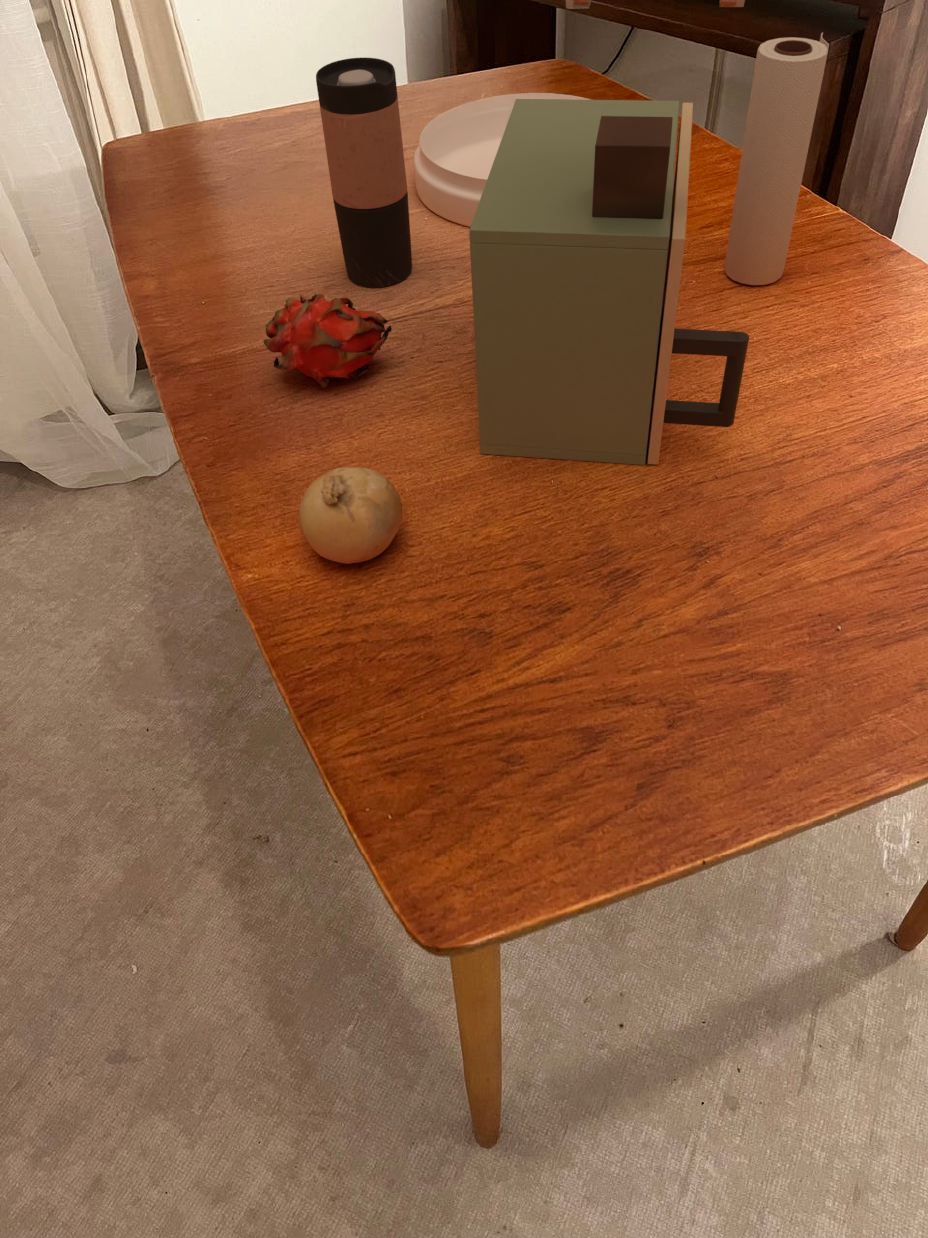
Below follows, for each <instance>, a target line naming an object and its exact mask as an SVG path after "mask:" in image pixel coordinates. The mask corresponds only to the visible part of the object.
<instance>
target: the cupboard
mask: <svg viewBox="0 0 928 1238" xmlns="http://www.w3.org/2000/svg"><path fill="white" fill-rule="evenodd" d="M680 102H681V101H679V100H649V99H648V100H642V99H641V100H639V99H636V100H635V99H592V100H569V99H516V101H515V103H514V106H513V109H512V112H511V115H510V117H509V120H508V123H507V126H506V129H505V131H504V134H503V137H502V140H501V143H500V145H499V148H498V151H497V154H496V157H495V159H494V162H493V165H492V168H491V171H490V173H489V176H488V179H487V182H486V185H485V187H484V190H483V193H482V196H481V199H480V201H479V204H478V207H477V210H476V213H475V215H474V218H473V221H472V224H471V227H469V230H468V234H469V235H468V237H469V254H470V255H469V256H470V257H469V258H470V275H471V294H472V312H473V313H472V314H473V333H474V334H473V337H474V353H475V370H476V371H475V373H476V374H475V375H476V393H477V394H476V395H477V396H476V397H477V413H478V433H479V434H478V436H479V453H480V455H489V456H490V455H492V456H506V457H519V458H520V457H521V458H535V459H549V460H563V461H577V462H578V461H579V462H593V463H606V464H607V463H608V464H609V463H610V464H621V465H635V466H636V465H637V466H645V465H646V462H647V461H646V460H647V459H646V458H647V449H648V443H649V434H650V424H651V415H652V404H653V392H654V380H655V368H656V358H657V349H658V340H659V330H660V321H661V312H662V302H663V293H664V284H665V274H666V265H667V256H668V246H669V237H670V224H671V210H672V197H673V188H674V178H675V169H676V158H677V144H678V142H677V141H678V129H679V128H678V127H679V115H680ZM601 116H636V117H672V118H673V122H672V134H671V145H670V156H669V166H668V176H667V185H666V195H665V205H664V215H663V219H647V218H614V217H592V203H593V181H594V159H595V144H596V139H597V134H598V129H599V124H600V119H601Z"/></svg>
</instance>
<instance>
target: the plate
mask: <svg viewBox="0 0 928 1238" xmlns="http://www.w3.org/2000/svg"><path fill="white" fill-rule="evenodd" d="M516 99H569V100H593V99H592V98H587V97H582V96H577V95H571V94H566V93H565V94H564V93H552V92H551V93H550V92H521V93H509V94H502V95H501V94H500V95H495V96H489V97H484V98H480V99H477V100H476V99H475V100H471V101H468V102H465V103H462V104H460V105H457V106H455V107H452V108H449V109H447V110H445V111H444V112H442V113H440V114H439V115H436V117H434V118H433V119H431V120H430V121H428V123H427V124H426V125H425V127H423V129H422V131H421V133H420V135H419V140H418V141H419V145H418V146H417V148H416V150H415V152H414V155H413V166H414V167H413V169H414V170H413V171H414V178H415V179H414V180H415V189H416V193H417V196H418V197H419V200H420V201H421V202H422V203H423V205H424V206H425V207H427V208H428V209H429V210H430V211H431V212H432V213H434V214H436V215H438V216H439V217H441V218H443V219H445V220H447V221H449V222H452V223H454V224H458V225H461V226H464V227H468V228H470V227H471V224H472V221H473V218H474V215H475V213H476V210H477V207H478V204H479V201H480V199H481V196H482V193H483V190H484V187H485V185H486V182H487V179H488V176H489V173H490V171H491V168H492V165H493V162H494V159H495V157H496V154H497V151H498V148H499V145H500V143H501V140H502V137H503V134H504V131H505V129H506V126H507V123H508V120H509V117H510V115H511V112H512V109H513V106H514V103H515V101H516Z"/></svg>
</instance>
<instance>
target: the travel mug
mask: <svg viewBox="0 0 928 1238" xmlns="http://www.w3.org/2000/svg"><path fill="white" fill-rule="evenodd" d="M396 77H397V75H396V68H395V67H394V65H393V64H392V63H391V62H389V61H387V60H385V59H381V58H377V57H376V58H375V57H351V58H345V59H339V60H336V61H332V62H330V63H327V64H325V65H323V66H322V67H320V68H319V69H318V70H317V72H316V74H315V82H316V89H317V96H318V103H319V111H320V119H321V124H322V132H323V139H324V146H325V153H326V159H327V166H328V174H329V180H330V189H331V195H332V198H333V199H332V201H333V206H334V212H335V216H336V223H337V227H338V233H339V238H340V244H341V250H342V254H343V261H344V266H345V270H346V274H347V277H348V279H349V280H350V282H352V283H353V284H354V285H357V286H360V287H363V288H364V287H365V288H386V287H390V286H394V285H397V284H400V283H402V282H403V281H404V280H406V279H407V278H409V277H410V275H411V274H412V271H413V257H412V256H413V255H412V241H411V240H412V239H411V238H412V237H411V227H410V226H411V225H410V224H411V223H410V211H409V207H410V206H409V194H408V193H409V192H408V182H407V173H406V172H407V171H406V164H405V153H404V147H403V146H404V144H403V135H402V126H401V125H402V123H401V117H400V106H399V97H398V87H397V78H396Z"/></svg>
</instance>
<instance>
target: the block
mask: <svg viewBox="0 0 928 1238" xmlns="http://www.w3.org/2000/svg"><path fill="white" fill-rule="evenodd" d="M672 122H673V118H672V117H636V116H601V119H600V124H599V129H598V134H597V139H596V144H595V159H594V181H593V203H592V217H614V218H647V219H663V215H664V205H665V195H666V185H667V176H668V166H669V156H670V145H671V134H672Z"/></svg>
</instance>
